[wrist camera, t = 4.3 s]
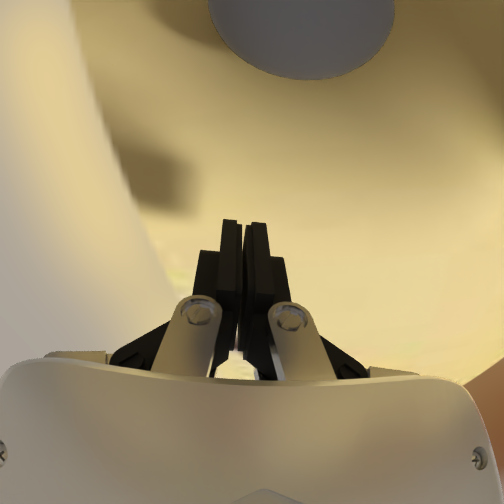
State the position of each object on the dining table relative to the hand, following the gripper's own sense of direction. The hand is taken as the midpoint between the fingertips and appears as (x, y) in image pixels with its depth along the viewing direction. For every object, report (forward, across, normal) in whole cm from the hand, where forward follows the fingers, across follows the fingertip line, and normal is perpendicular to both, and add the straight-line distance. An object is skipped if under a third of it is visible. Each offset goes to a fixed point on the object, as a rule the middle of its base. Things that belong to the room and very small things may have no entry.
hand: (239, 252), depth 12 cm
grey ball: (+1, -1, -10) cm, 10 cm away
